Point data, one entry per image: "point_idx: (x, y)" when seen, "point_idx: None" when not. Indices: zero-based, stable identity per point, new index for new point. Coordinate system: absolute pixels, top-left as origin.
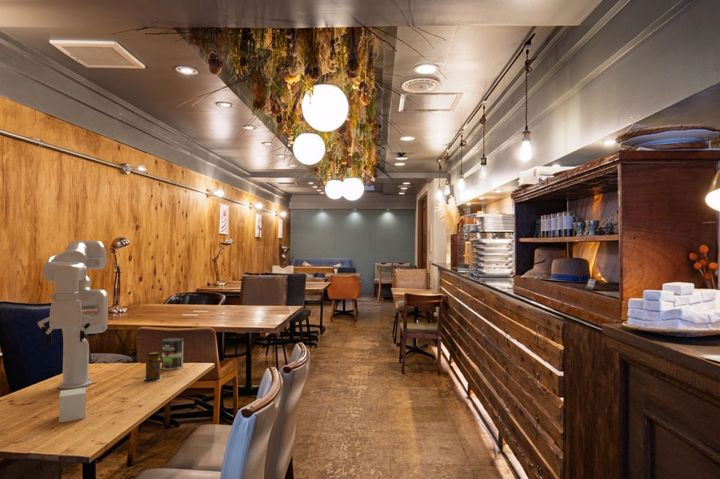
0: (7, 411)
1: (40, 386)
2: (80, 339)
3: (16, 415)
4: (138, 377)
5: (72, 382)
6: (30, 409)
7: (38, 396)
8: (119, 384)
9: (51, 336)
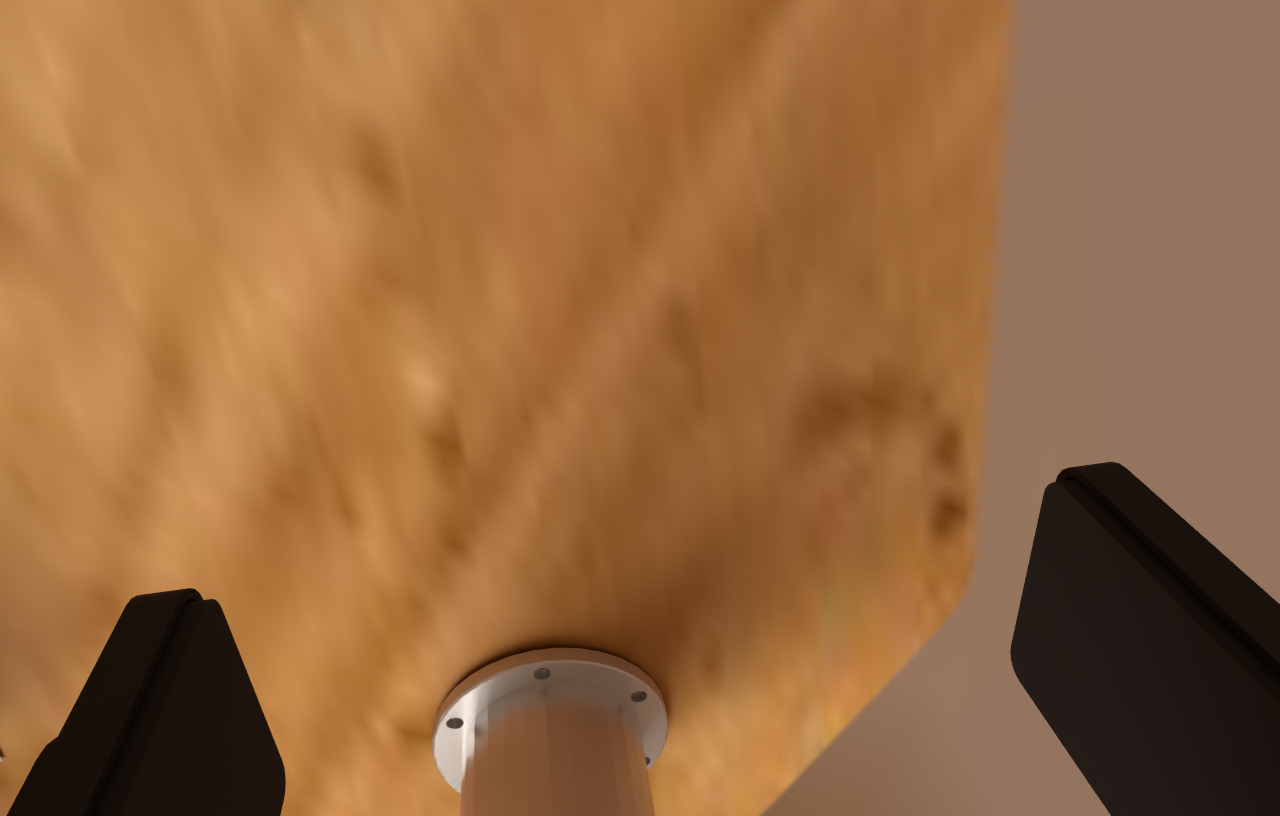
0: (989, 251)
1: (777, 753)
2: (167, 652)
3: (935, 87)
4: None
5: (566, 702)
6: (830, 225)
7: (781, 551)
8: None
9: (1213, 712)
